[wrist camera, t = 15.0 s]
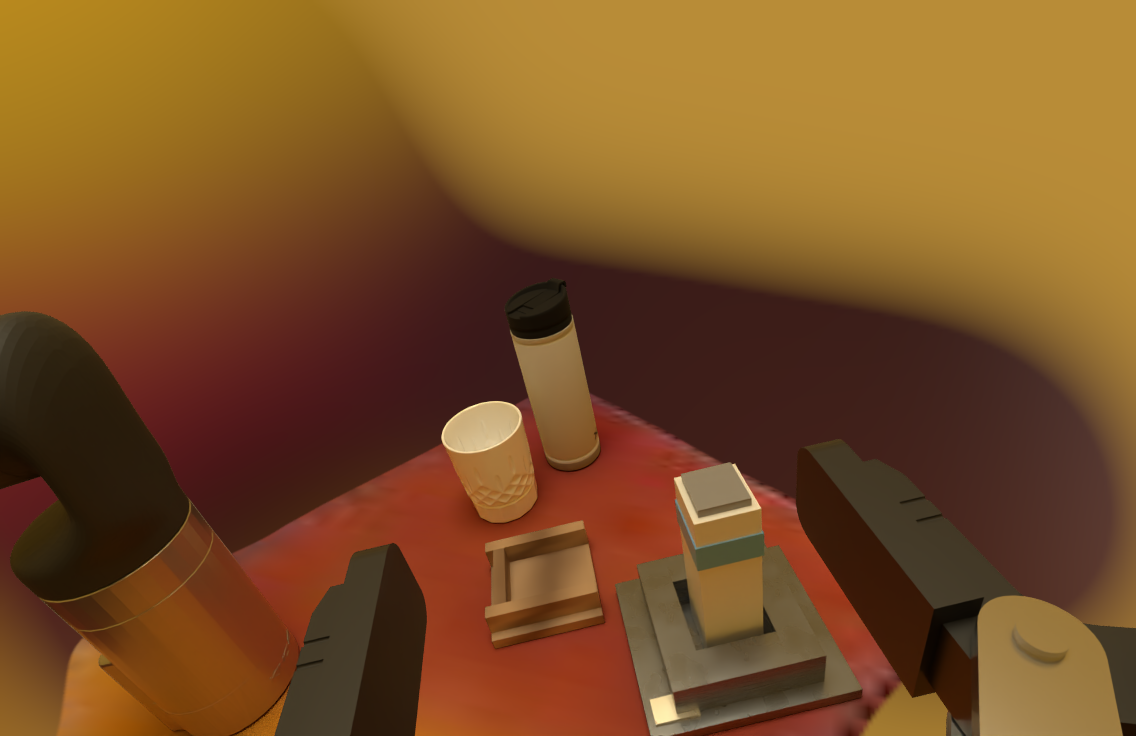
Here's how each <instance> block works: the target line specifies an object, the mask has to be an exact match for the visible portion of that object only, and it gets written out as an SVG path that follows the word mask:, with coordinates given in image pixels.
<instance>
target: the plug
mask: <svg viewBox="0 0 1136 736" xmlns="http://www.w3.org/2000/svg"><path fill="white" fill-rule="evenodd" d="M674 483H675V491H676V500H675V505H676V513H677V520H678V523H679V526H680V530H681V538H682V546H683V553H684V561H685V569H686V577H687V585H688V593H689V600H690V608H691V613H692V616H693V619H694V621H695V624H696V627H697V630H698V633H699V635H700V638H701V641H702V644H703V647H704V649H705V648H710V647H714V646H718V645H722V644H726V643H730V642H735V641H739V640H743V639H747V638H751V637H755V636H760V635H763V579H762V556H764V532H763V531H762V521H761V507H760V506H759V504H758V502H757V501H756V499H755V497H754V496H753V494H752V492H751V490H750V489H749V487H748V485H747V484H746V482H745V480H744V479H743V477H742V475H741V474H740V472H739V470H738V469H737V467H736V466H735V464H731V463H725V464H721V465H717V466H713V467H709V468H704V469H700V470H696V471H692V472H688V473H683V474H681V477H677V478H674Z"/></svg>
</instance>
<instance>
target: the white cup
mask: <svg viewBox="0 0 1136 736" xmlns="http://www.w3.org/2000/svg"><path fill="white" fill-rule="evenodd" d="M442 442H443V444H444V446H445V449H446V451H447V453H448V455H449V457H450V459H451V461H452V464H453V466H454V468H455V470H456V472H457V474H458V476H459V478H460V480H461V482H462V484H463V486H464V488H465V490H466V492H467V494H468V496H469V497H470V498H471V500H472V502H473V504H474V506H475V509H476V510H477V512H478V514H479V515H480V517H481V518H483V519H485V520H487V521H489V522H491V523H506V522H509V521H512V520H515V519H518V518H520V517H521V516H523V515H524V514H525V513H526V512H528V511H529V510H530V509H531V508H532V506H533V505H534V503H535V501H536V500H537V484H536V480H535V476H534V468H533V463H532V459H531V454H530V449H529V445H528V441H527V437H526V433H525V429H524V424H523V420H522V416H521V413H520V411H519V409H518V408H517V407H516V406H514V405H512V404H510V403H507V402H500V401H492V402H485V403H480V404H477V405H474V406H471V407H469V408H467V409H465V410H463V411H461V412H459V413H458V414H457V415H455V416H454V417H453V418H452V419H451V420H450V421H449V422H448V423H447V424H446V426H445V427H444V429H443V432H442Z"/></svg>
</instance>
